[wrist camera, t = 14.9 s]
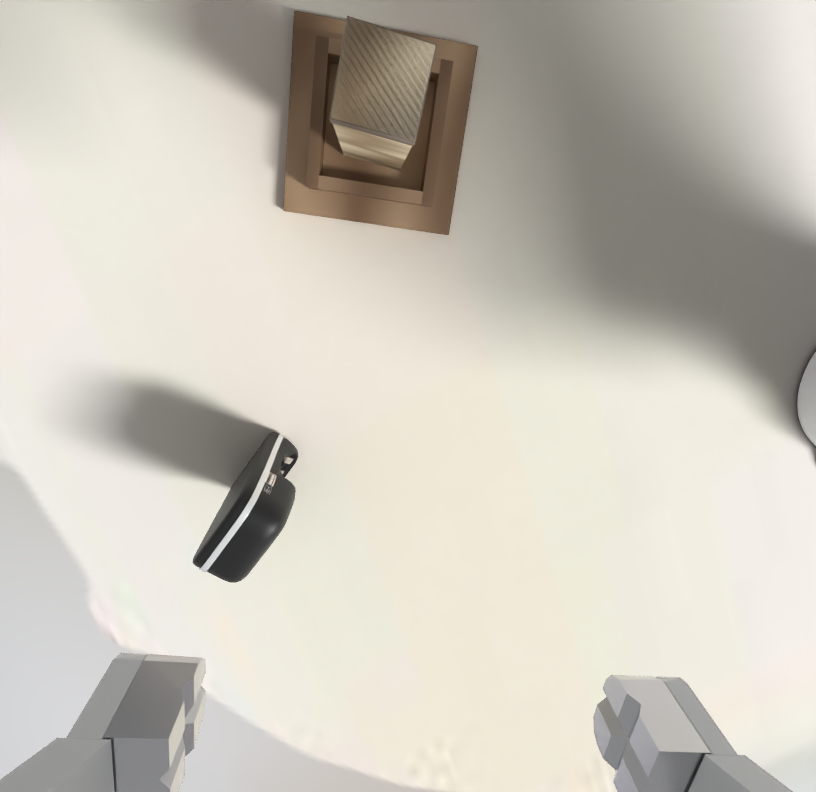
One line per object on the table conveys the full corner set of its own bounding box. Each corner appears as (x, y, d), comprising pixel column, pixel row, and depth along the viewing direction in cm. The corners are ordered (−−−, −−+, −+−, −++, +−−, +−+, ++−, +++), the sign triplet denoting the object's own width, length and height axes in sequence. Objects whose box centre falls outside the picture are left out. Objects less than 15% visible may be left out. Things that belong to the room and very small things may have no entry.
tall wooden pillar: (414, 107, 33) (437, 44, 22) (400, 171, 34) (415, 142, 23) (354, 89, 33) (346, 15, 21) (342, 155, 34) (329, 118, 23)
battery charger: (268, 509, 43) (234, 602, 32) (230, 487, 42) (182, 575, 31) (312, 450, 42) (292, 527, 31) (274, 426, 41) (239, 497, 30)
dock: (475, 50, 33) (484, 34, 30) (446, 234, 37) (452, 235, 34) (296, 15, 32) (289, -4, 29) (285, 211, 35) (278, 209, 33)
